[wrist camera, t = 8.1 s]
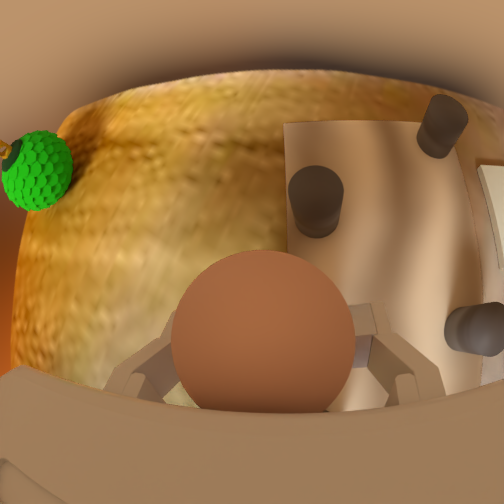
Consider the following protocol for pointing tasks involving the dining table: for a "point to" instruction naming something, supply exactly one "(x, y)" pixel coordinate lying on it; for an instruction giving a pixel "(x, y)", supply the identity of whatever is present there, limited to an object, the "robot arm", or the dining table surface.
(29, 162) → the ornament
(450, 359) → the post board
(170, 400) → the dining table surface
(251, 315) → the tan cylinder block
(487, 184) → the mat
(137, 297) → the dining table surface
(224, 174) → the dining table surface
